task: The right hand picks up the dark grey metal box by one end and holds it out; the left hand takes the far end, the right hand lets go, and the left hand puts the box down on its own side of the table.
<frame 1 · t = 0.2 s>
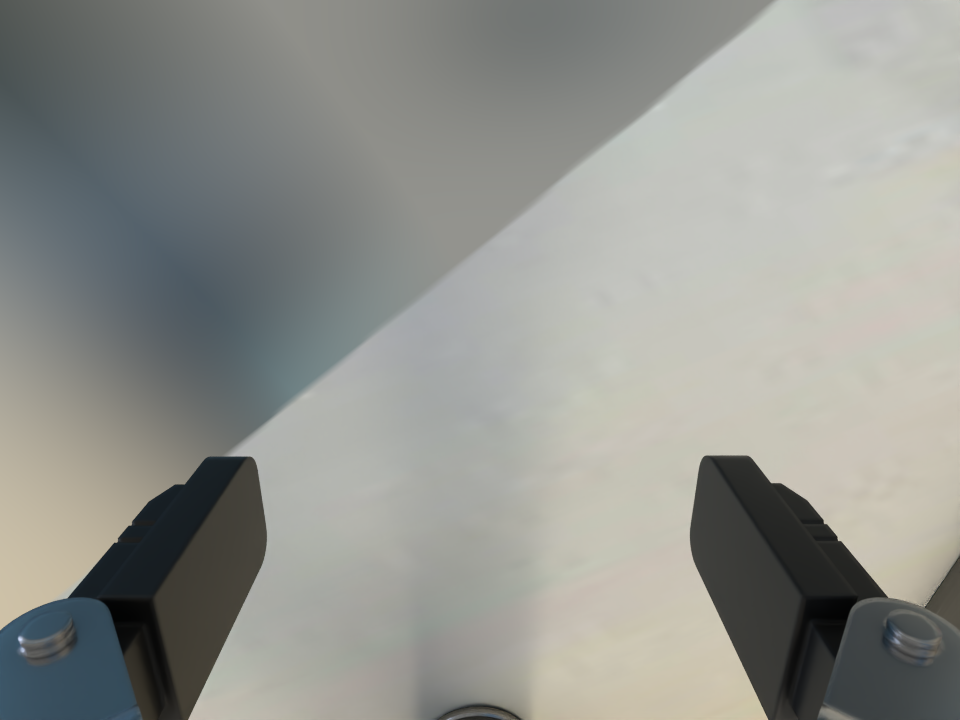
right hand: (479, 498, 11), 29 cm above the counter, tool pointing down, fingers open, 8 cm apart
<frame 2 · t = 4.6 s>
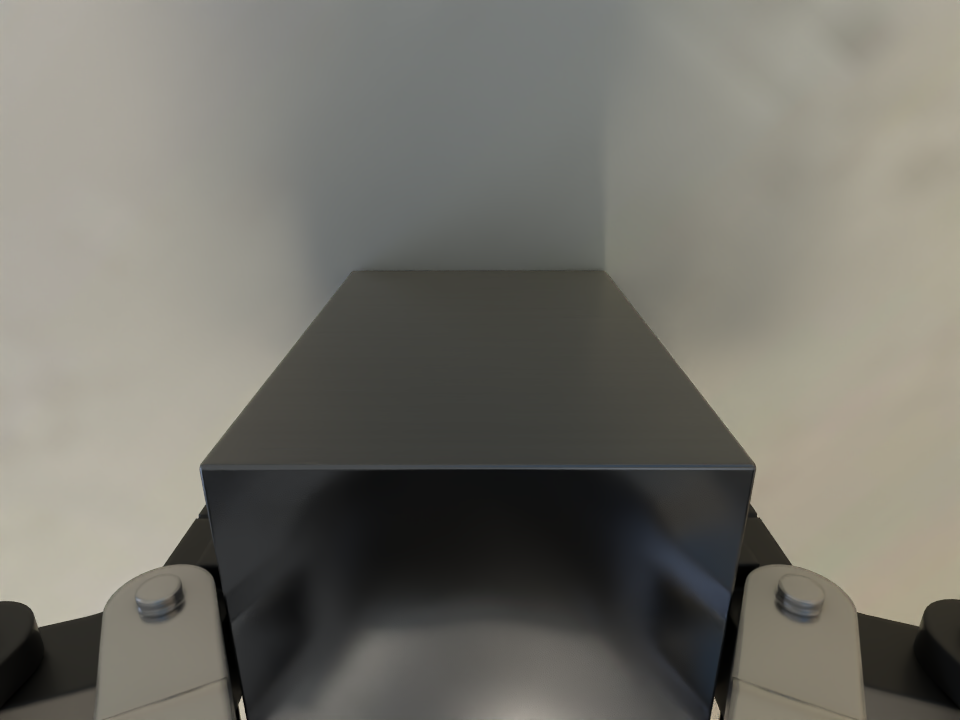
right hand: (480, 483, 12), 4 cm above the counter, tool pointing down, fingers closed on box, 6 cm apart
box: (479, 641, 19), on the counter, touching right hand
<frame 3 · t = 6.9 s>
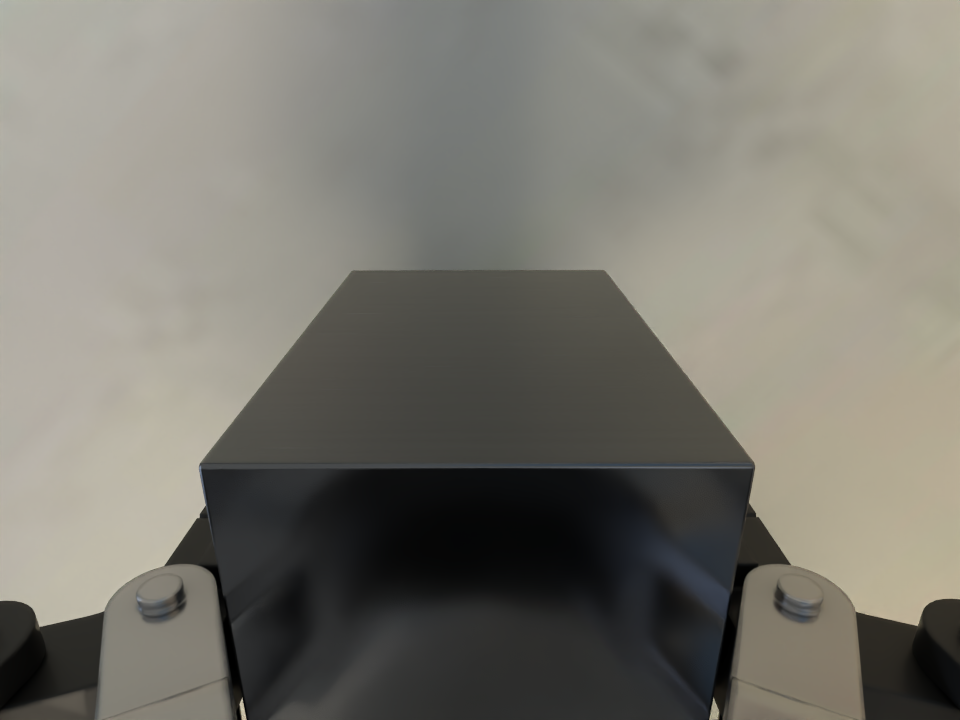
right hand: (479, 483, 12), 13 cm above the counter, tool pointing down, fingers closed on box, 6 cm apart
box: (479, 640, 19), point 8 cm above the counter, touching right hand
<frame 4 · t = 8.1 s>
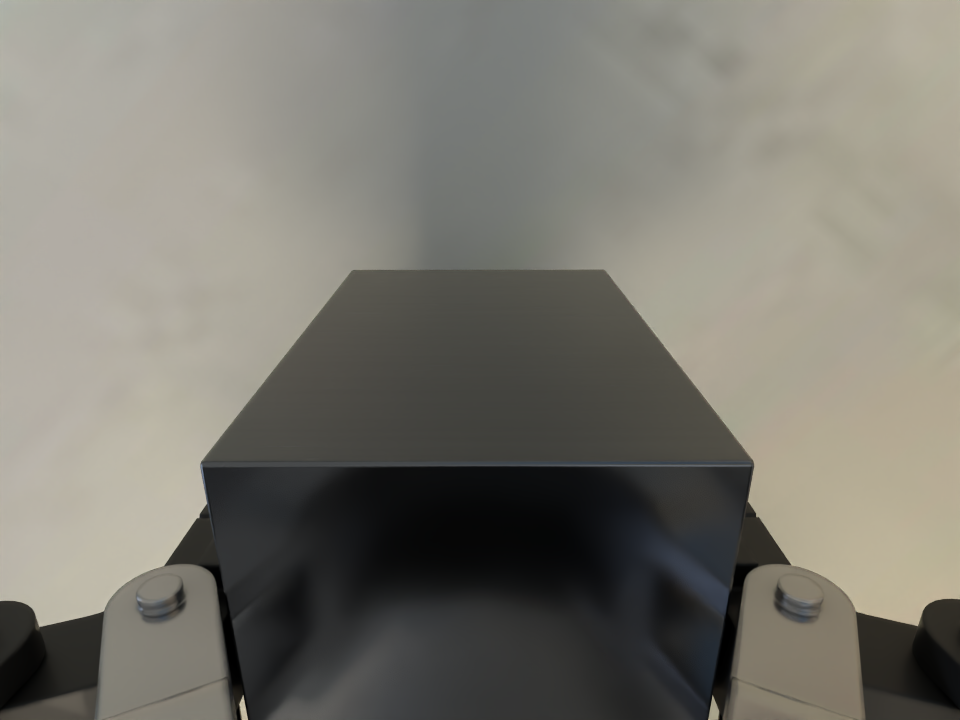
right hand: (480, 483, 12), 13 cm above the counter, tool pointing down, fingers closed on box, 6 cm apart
box: (479, 639, 19), point 8 cm above the counter, touching right hand, left hand
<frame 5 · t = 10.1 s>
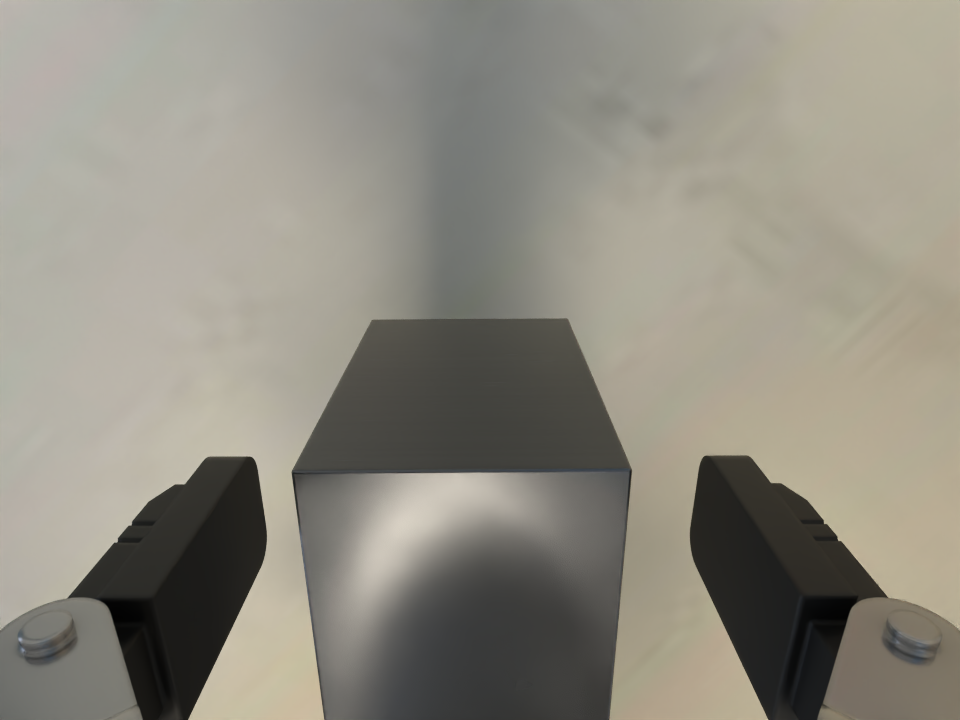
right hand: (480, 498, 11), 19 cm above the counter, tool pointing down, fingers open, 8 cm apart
box: (473, 613, 24), point 11 cm above the counter, touching left hand
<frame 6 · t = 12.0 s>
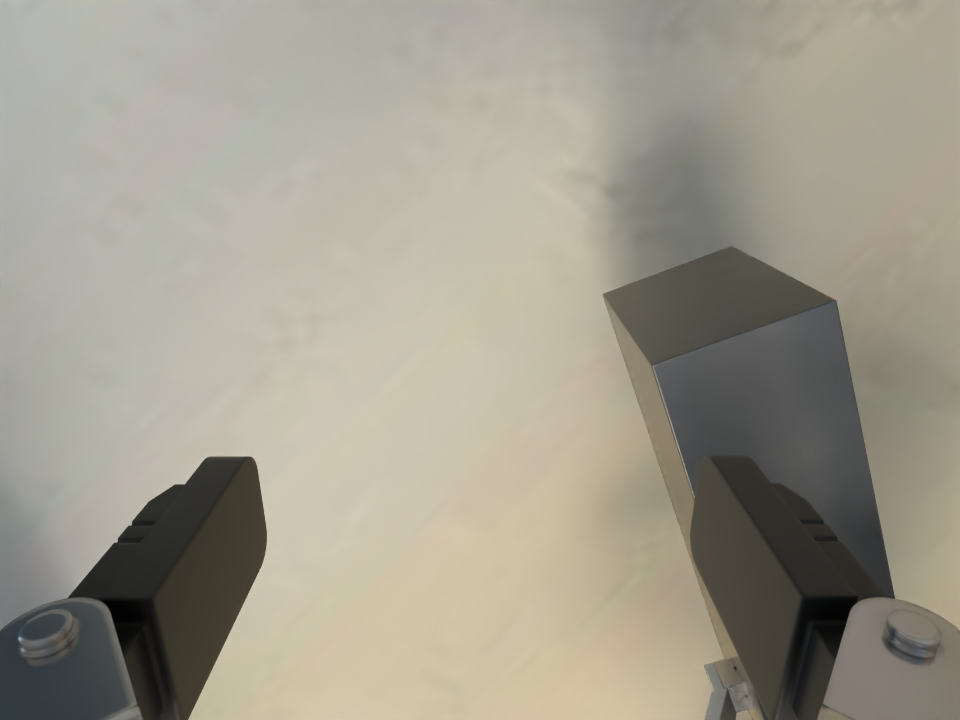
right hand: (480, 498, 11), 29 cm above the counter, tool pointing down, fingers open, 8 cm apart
box: (726, 475, 32), point 11 cm above the counter, touching left hand
when the left hand's fingers open (5 cm above the counter, at t = 15.8 s): box stays where it is, on the counter.
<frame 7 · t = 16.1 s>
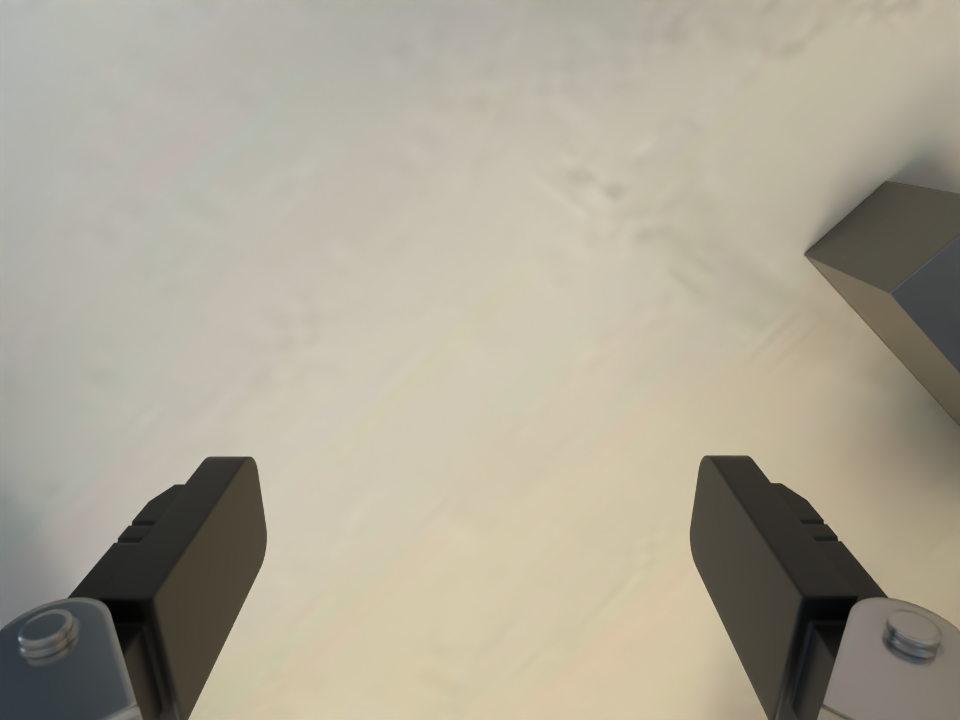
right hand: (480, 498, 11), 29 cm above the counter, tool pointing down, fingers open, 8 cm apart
box: (948, 338, 41), on the counter
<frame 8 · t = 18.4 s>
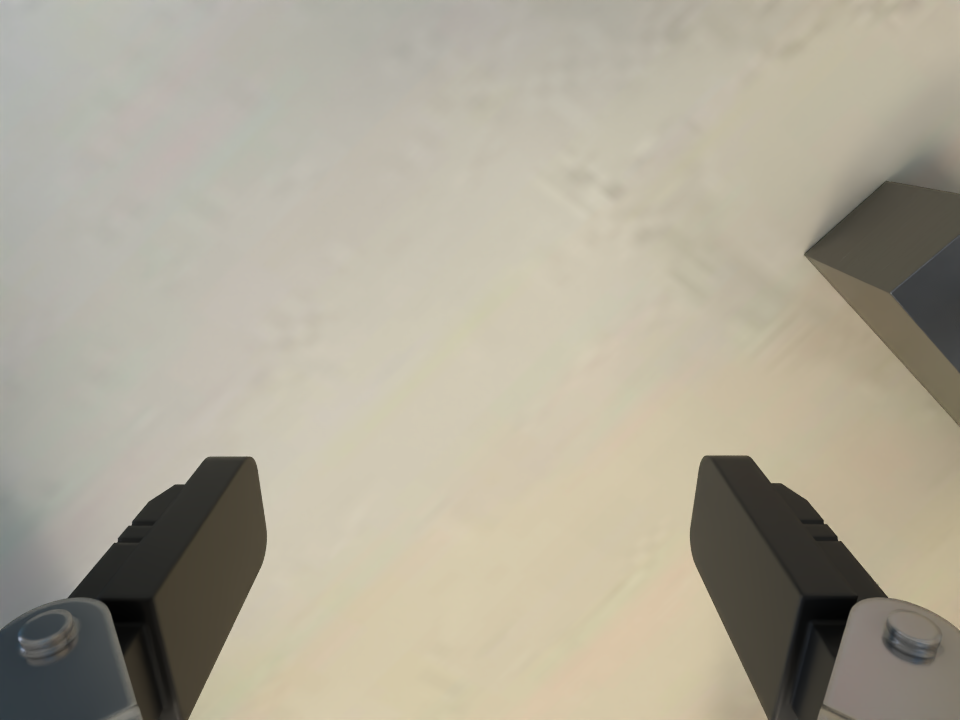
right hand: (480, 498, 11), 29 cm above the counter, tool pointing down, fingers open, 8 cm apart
box: (948, 338, 41), on the counter
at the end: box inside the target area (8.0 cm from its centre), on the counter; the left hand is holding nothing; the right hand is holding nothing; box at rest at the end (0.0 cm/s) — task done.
